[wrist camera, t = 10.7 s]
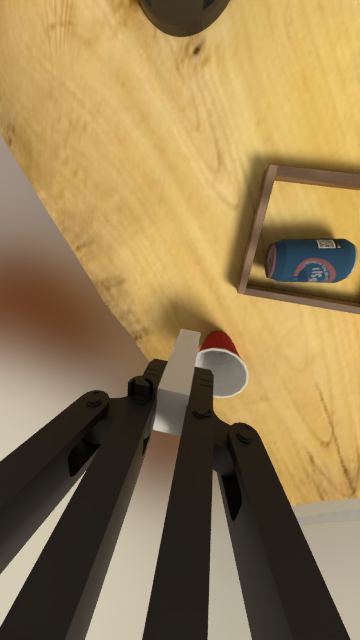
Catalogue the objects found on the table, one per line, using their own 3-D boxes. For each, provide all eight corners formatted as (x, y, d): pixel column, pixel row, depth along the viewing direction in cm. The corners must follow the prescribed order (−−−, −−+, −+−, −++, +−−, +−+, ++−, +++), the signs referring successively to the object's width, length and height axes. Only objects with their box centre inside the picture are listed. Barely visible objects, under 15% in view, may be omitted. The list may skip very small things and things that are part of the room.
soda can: (341, 291, 36) (266, 289, 38) (330, 263, 40) (262, 263, 42) (366, 258, 30) (276, 258, 32) (351, 229, 34) (271, 230, 36)
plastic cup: (184, 334, 49) (174, 364, 38) (227, 312, 45) (229, 338, 34) (208, 370, 52) (206, 407, 41) (250, 352, 48) (260, 388, 37)
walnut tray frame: (265, 170, 35) (269, 164, 32) (430, 188, 32) (453, 184, 29) (236, 288, 43) (237, 293, 40) (366, 310, 41) (379, 317, 37)
